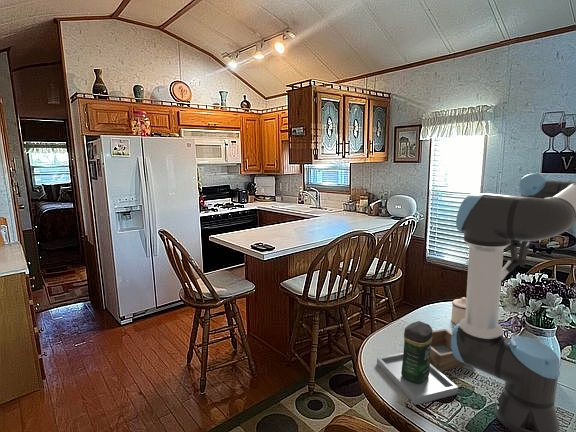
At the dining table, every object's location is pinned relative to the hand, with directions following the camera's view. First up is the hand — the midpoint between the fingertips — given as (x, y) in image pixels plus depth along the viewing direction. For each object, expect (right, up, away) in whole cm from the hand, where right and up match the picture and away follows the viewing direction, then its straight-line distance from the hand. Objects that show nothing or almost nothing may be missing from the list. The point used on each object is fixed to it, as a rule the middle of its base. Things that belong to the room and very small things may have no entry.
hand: (483, 271), depth 126 cm
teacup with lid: (+9, -28, +34) cm, 45 cm away
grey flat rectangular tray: (-27, -36, -6) cm, 45 cm away
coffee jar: (-27, -35, -6) cm, 44 cm away
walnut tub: (-12, -33, +7) cm, 36 cm away
